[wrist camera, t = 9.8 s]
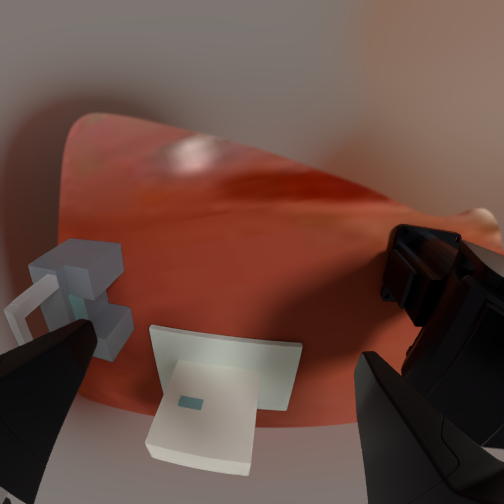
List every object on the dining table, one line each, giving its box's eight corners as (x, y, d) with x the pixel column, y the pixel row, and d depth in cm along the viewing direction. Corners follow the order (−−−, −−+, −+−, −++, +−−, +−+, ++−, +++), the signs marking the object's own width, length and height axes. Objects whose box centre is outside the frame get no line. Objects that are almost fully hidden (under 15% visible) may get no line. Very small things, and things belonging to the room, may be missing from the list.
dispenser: (120, 243, 22) (33, 316, 11) (134, 328, 25) (81, 412, 15) (70, 238, 22) (-15, 296, 12) (87, 317, 25) (30, 387, 15)
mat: (302, 342, 24) (302, 347, 23) (286, 406, 28) (286, 410, 27) (151, 324, 25) (149, 328, 24) (165, 390, 28) (163, 393, 28)
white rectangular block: (260, 370, 25) (251, 463, 16) (257, 390, 26) (248, 476, 17) (178, 358, 25) (144, 442, 16) (181, 379, 26) (152, 457, 17)
